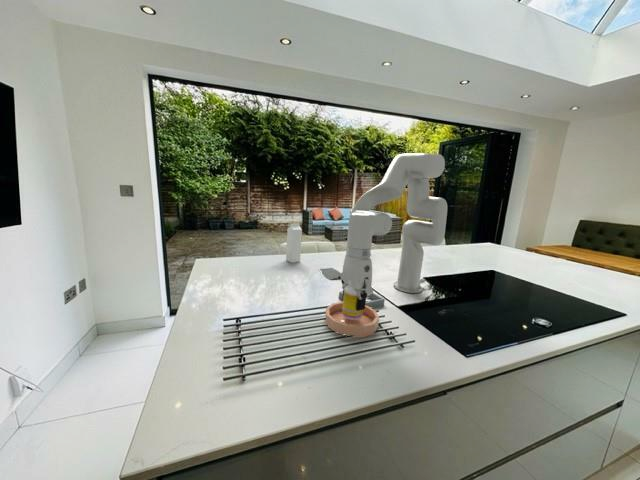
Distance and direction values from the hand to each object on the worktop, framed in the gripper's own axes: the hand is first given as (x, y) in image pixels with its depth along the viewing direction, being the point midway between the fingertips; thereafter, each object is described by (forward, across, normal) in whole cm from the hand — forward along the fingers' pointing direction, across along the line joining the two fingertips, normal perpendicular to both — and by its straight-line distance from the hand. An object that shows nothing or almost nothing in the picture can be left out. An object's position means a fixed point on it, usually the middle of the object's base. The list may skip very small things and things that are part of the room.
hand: (353, 304), depth 88 cm
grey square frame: (+7, +12, -14) cm, 19 cm away
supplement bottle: (+4, 0, 0) cm, 4 cm away
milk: (+7, +71, -12) cm, 72 cm away
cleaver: (+7, +38, -20) cm, 43 cm away
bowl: (+6, 0, 0) cm, 6 cm away
